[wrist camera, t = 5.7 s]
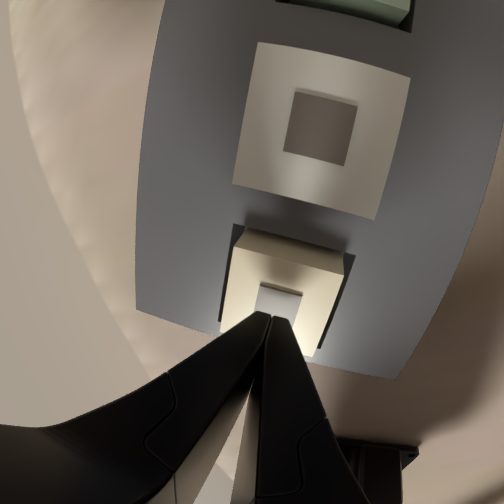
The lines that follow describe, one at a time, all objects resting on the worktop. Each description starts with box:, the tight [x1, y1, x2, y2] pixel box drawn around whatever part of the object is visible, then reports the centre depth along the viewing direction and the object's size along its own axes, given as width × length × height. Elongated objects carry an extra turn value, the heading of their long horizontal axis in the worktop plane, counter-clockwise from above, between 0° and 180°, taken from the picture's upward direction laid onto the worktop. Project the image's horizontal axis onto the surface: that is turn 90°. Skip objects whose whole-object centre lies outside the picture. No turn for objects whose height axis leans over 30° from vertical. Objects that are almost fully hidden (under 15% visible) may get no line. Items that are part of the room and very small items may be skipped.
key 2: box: [220, 227, 344, 357], centre depth 10 cm, size 3×3×3 cm
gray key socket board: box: [135, 0, 504, 380], centre depth 9 cm, size 15×10×3 cm, turn 170°
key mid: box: [232, 42, 411, 220], centre depth 7 cm, size 3×3×3 cm
